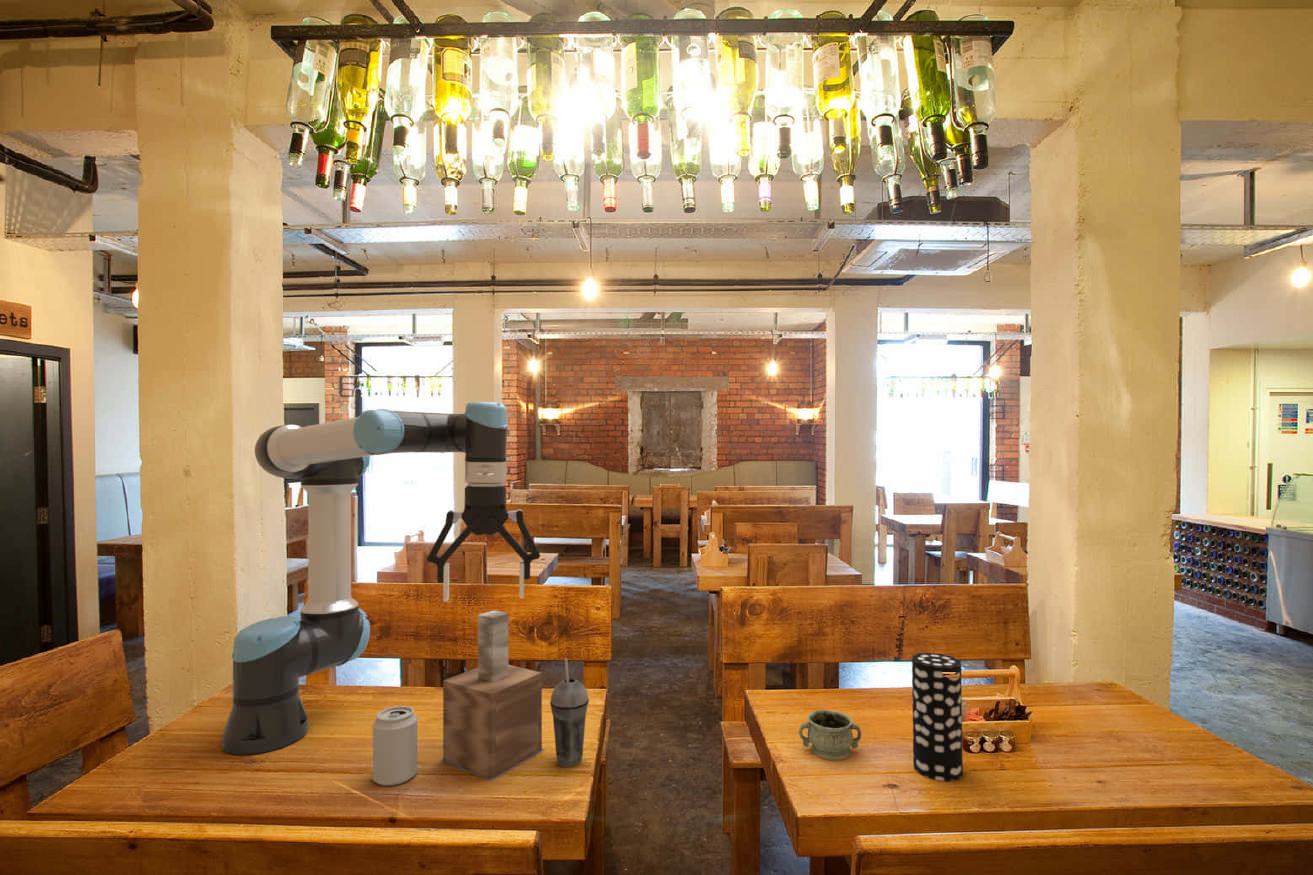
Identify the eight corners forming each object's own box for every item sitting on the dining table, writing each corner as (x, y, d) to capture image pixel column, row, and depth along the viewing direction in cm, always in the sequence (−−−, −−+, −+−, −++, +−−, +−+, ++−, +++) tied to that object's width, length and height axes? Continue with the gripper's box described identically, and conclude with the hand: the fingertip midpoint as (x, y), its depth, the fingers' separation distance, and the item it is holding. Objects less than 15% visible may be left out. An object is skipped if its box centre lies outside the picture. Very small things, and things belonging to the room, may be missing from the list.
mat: (439, 762, 121) (439, 760, 121) (494, 734, 132) (494, 732, 132) (491, 783, 113) (491, 780, 113) (545, 751, 125) (545, 749, 125)
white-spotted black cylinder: (959, 762, 120) (958, 655, 120) (965, 784, 112) (964, 669, 112) (912, 755, 122) (910, 650, 123) (914, 776, 115) (913, 664, 115)
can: (424, 769, 118) (424, 703, 118) (404, 790, 111) (405, 721, 111) (386, 767, 119) (386, 702, 119) (363, 788, 112) (364, 719, 112)
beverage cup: (596, 758, 122) (595, 653, 122) (575, 776, 115) (575, 664, 116) (564, 750, 125) (563, 648, 125) (542, 767, 118) (542, 659, 119)
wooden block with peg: (443, 760, 121) (443, 616, 121) (494, 734, 132) (494, 602, 132) (491, 778, 114) (491, 626, 114) (541, 749, 125) (541, 611, 125)
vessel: (856, 741, 129) (855, 709, 129) (867, 762, 120) (866, 729, 120) (796, 739, 130) (795, 708, 130) (802, 760, 121) (802, 727, 121)
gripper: (412, 486, 113) (410, 606, 113) (554, 485, 119) (553, 599, 118) (417, 483, 120) (416, 596, 120) (551, 483, 126) (550, 590, 126)
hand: (484, 598), depth 119 cm, fingers open, 13 cm apart
